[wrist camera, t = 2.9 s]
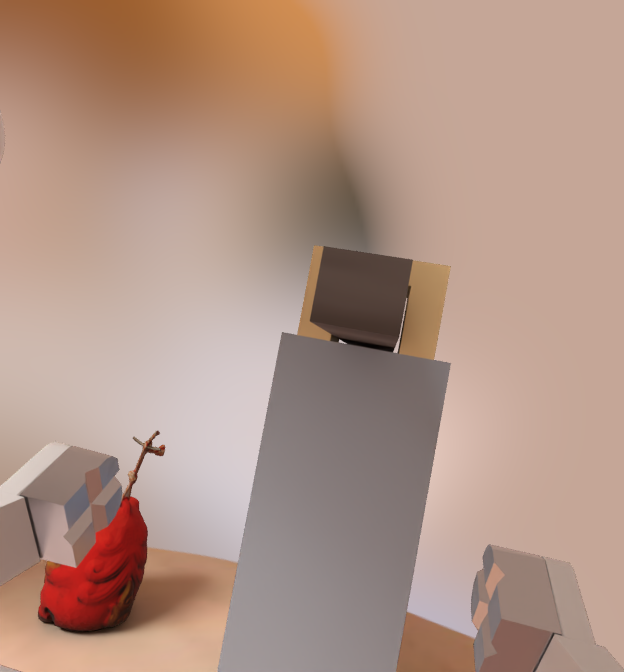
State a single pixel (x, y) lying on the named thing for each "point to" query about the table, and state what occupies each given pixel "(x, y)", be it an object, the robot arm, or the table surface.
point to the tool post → (339, 494)
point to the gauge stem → (361, 297)
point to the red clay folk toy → (102, 570)
